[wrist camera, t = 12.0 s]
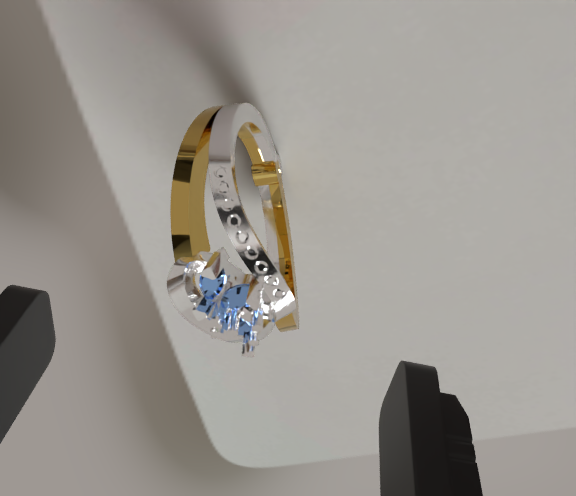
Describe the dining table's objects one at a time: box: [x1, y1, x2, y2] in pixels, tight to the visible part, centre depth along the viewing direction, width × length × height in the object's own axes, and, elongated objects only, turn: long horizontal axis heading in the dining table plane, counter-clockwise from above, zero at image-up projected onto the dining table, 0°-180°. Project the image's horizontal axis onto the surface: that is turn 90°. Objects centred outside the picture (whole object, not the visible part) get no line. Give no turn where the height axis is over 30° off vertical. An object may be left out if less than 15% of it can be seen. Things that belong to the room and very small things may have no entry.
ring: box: [167, 103, 299, 357], centre depth 16 cm, size 7×3×8 cm, turn 10°
